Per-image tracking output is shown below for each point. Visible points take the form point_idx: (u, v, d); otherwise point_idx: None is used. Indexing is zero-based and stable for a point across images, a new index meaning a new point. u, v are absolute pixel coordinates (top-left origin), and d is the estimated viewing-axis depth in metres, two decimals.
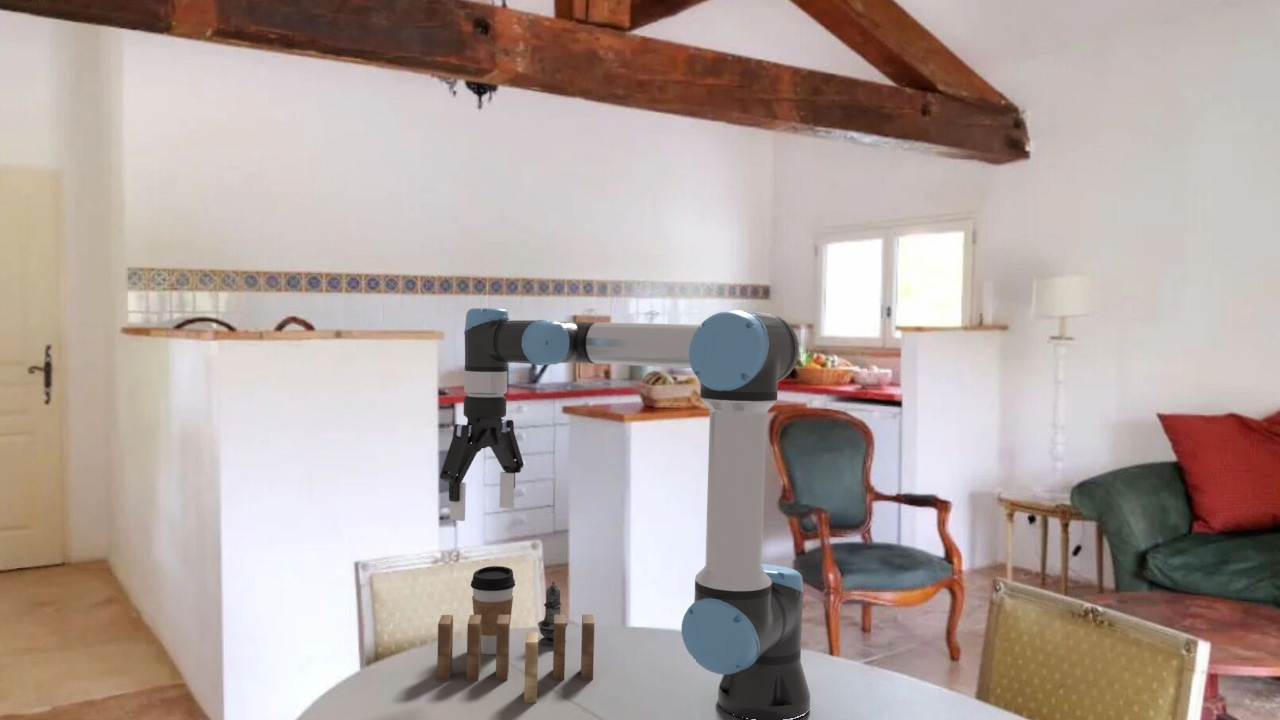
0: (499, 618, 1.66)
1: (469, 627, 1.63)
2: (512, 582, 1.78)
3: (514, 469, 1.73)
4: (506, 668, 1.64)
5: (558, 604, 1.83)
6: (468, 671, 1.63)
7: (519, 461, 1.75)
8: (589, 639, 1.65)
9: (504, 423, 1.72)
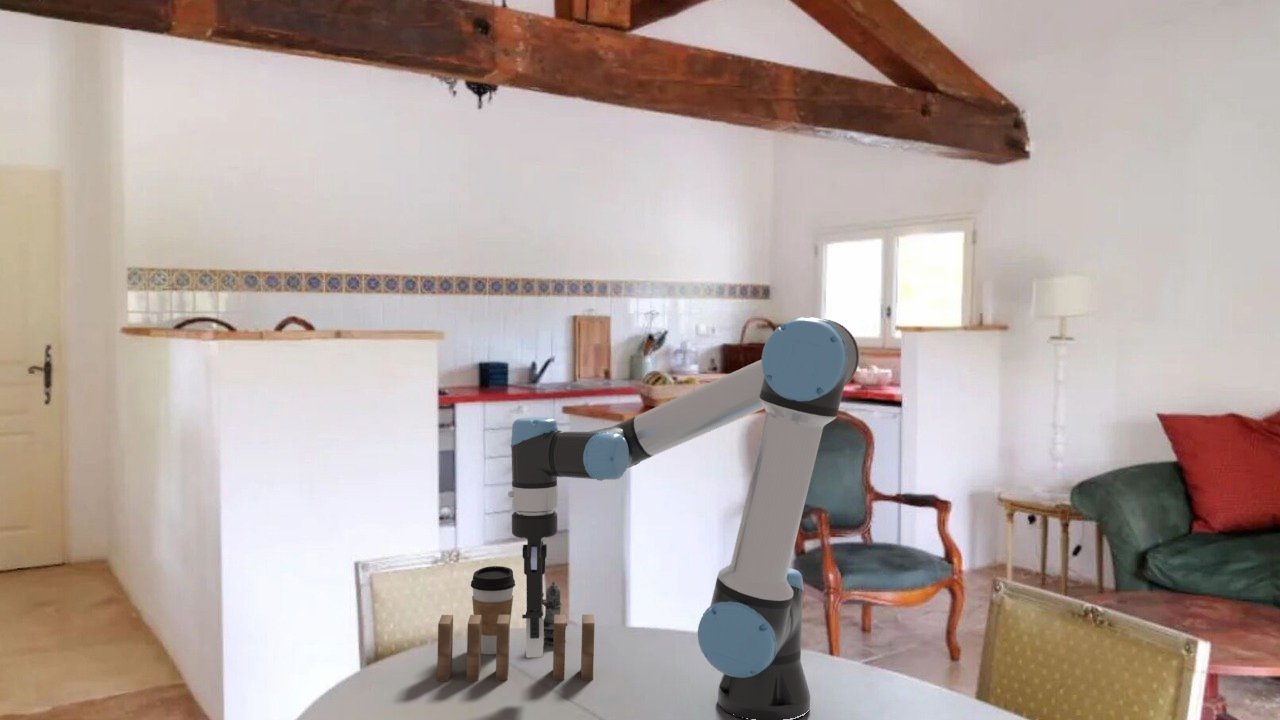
0: (499, 618, 1.66)
1: (469, 627, 1.63)
2: (512, 582, 1.78)
3: (542, 600, 1.60)
4: (506, 668, 1.64)
5: (558, 604, 1.83)
6: (468, 671, 1.63)
7: None
8: (589, 639, 1.65)
9: None
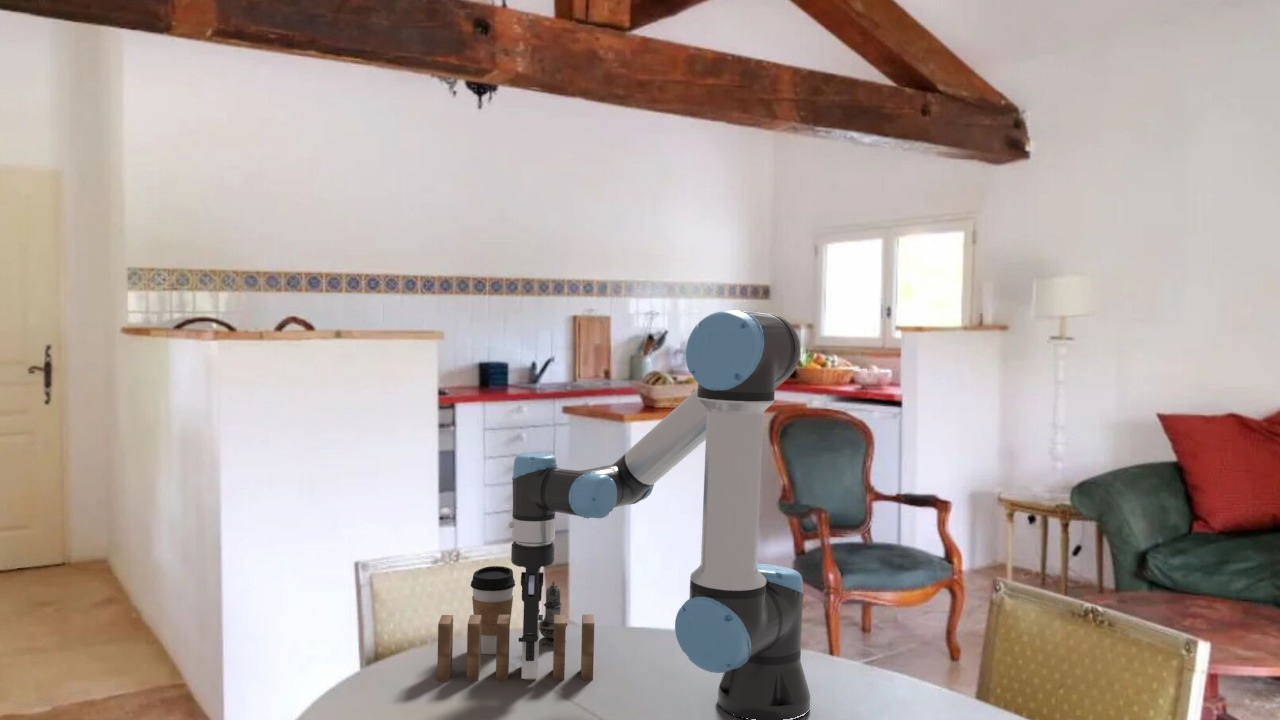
0: (499, 618, 1.66)
1: (469, 627, 1.63)
2: (512, 582, 1.78)
3: (538, 617, 1.72)
4: (506, 668, 1.64)
5: (558, 604, 1.83)
6: (468, 671, 1.63)
7: None
8: (589, 639, 1.65)
9: None
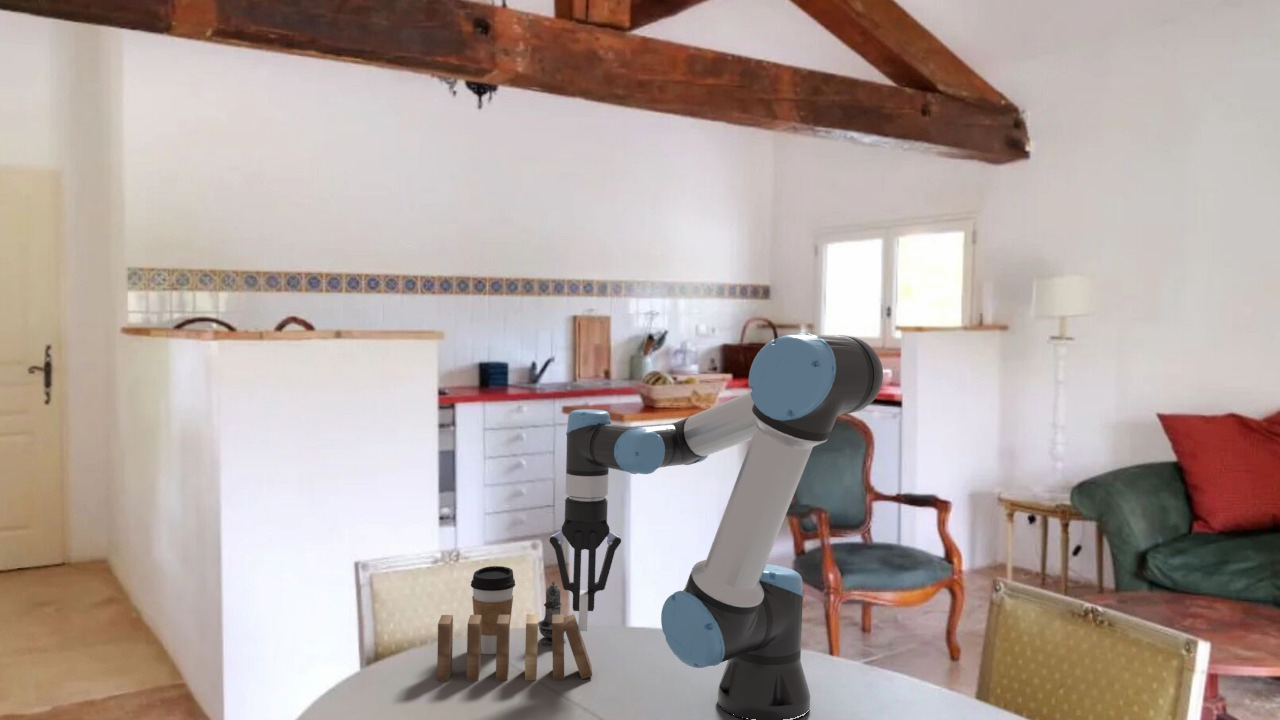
0: (499, 618, 1.66)
1: (469, 627, 1.63)
2: (512, 582, 1.78)
3: (589, 589, 1.66)
4: (506, 668, 1.64)
5: (558, 604, 1.83)
6: (468, 671, 1.63)
7: (601, 581, 1.66)
8: (575, 639, 1.65)
9: (612, 536, 1.67)
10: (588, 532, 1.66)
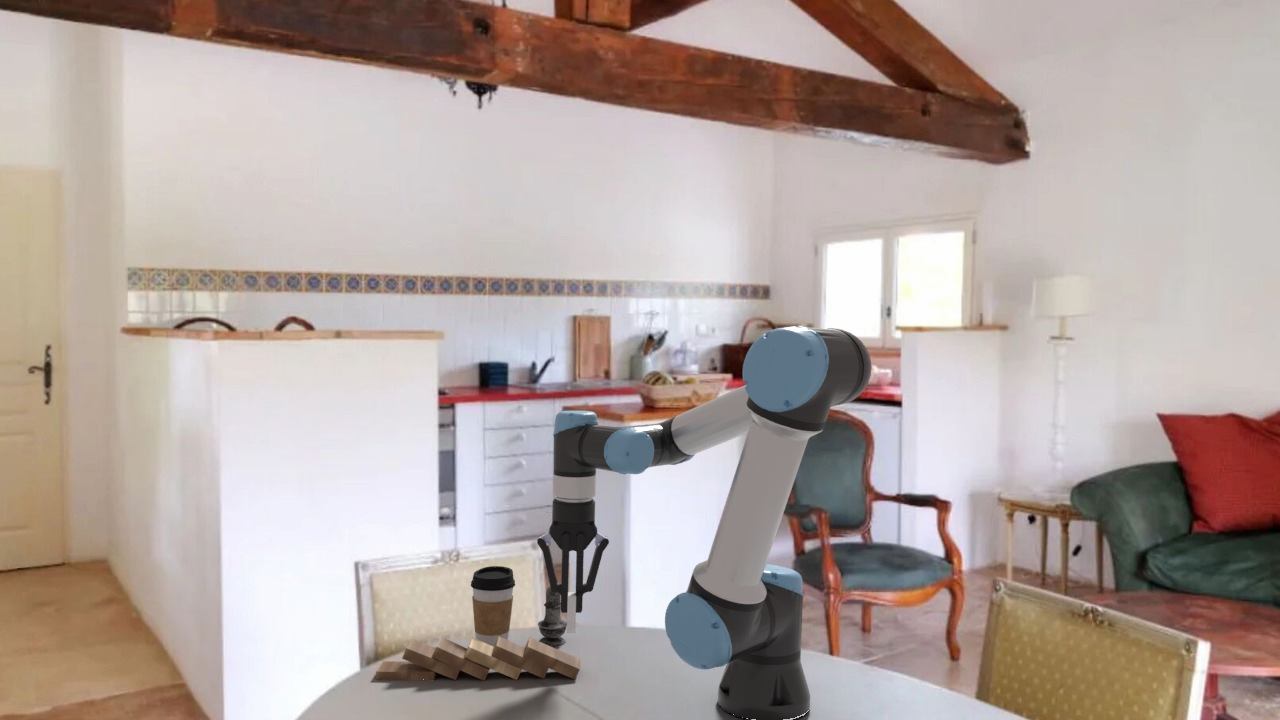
0: None
1: (406, 658, 1.63)
2: (512, 582, 1.78)
3: (577, 590, 1.66)
4: (477, 666, 1.63)
5: (558, 604, 1.83)
6: (447, 674, 1.63)
7: (589, 583, 1.66)
8: (540, 657, 1.64)
9: (600, 537, 1.66)
10: (576, 533, 1.65)
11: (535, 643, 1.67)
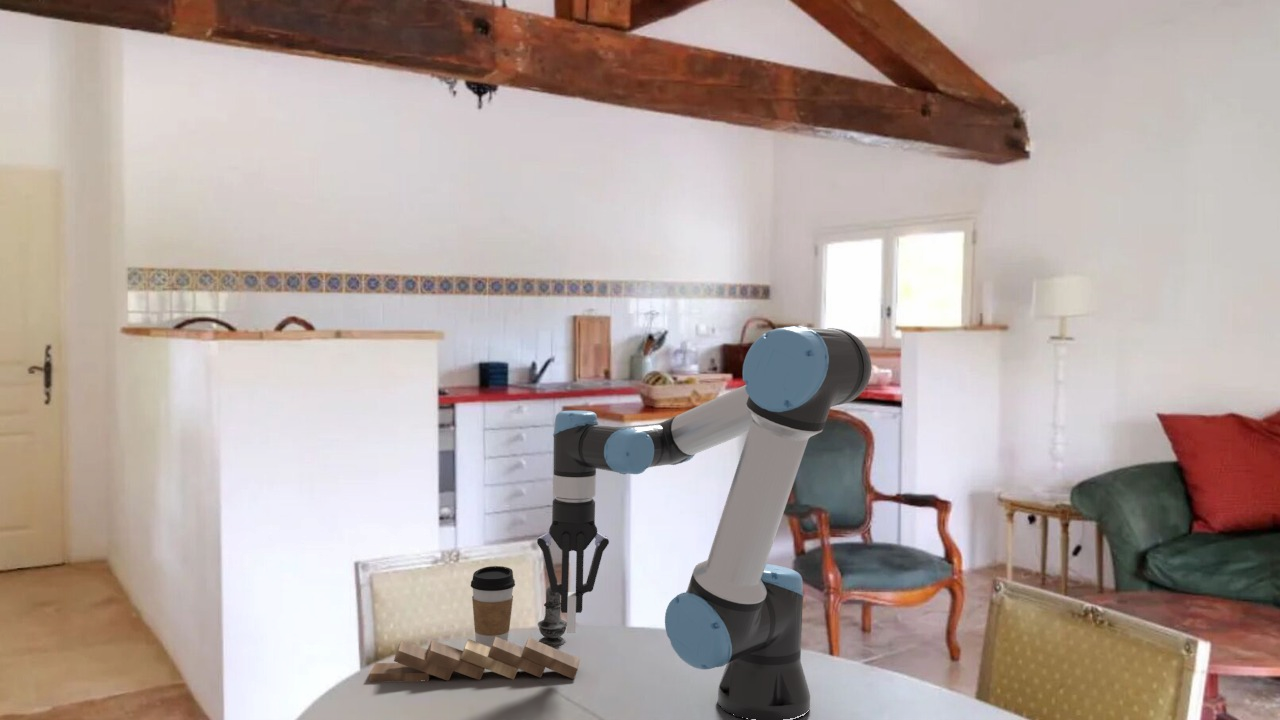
0: (427, 653, 1.64)
1: (398, 660, 1.61)
2: (512, 582, 1.78)
3: (577, 590, 1.66)
4: (473, 666, 1.63)
5: (558, 604, 1.83)
6: (440, 676, 1.62)
7: (589, 583, 1.66)
8: (538, 656, 1.65)
9: (600, 537, 1.66)
10: (576, 533, 1.65)
11: (534, 643, 1.68)
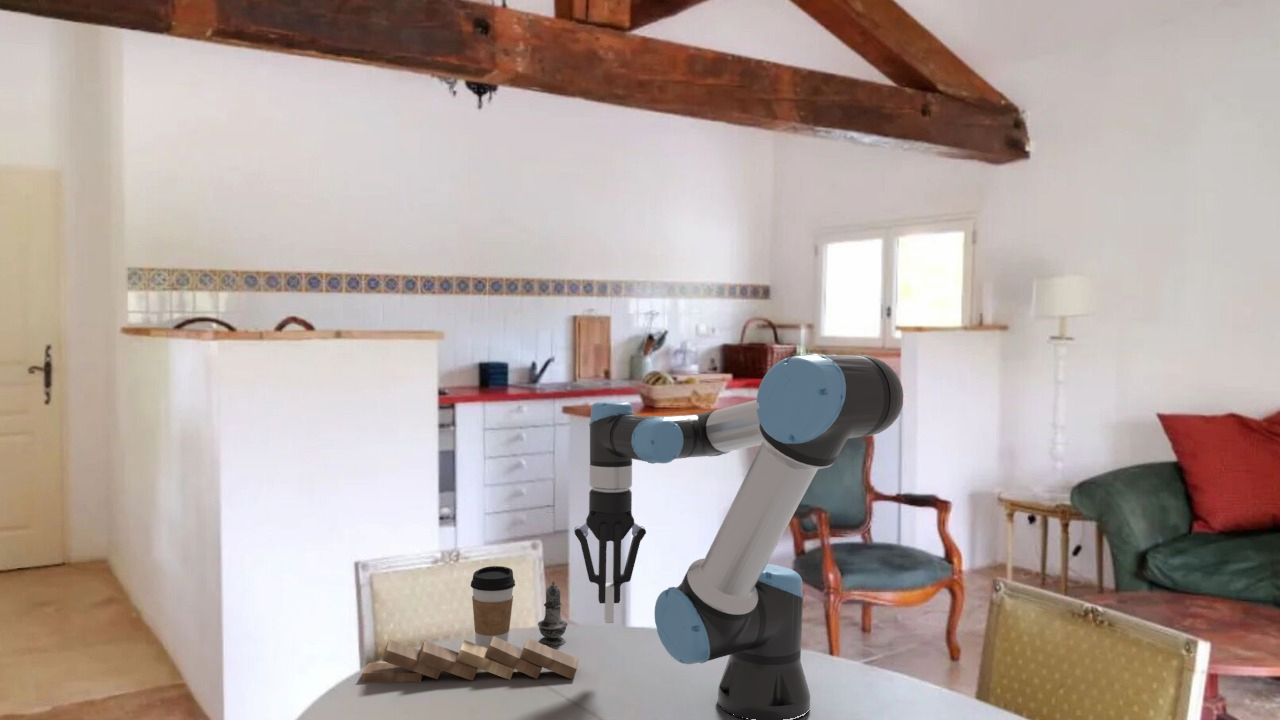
0: (419, 654, 1.64)
1: (386, 660, 1.60)
2: (512, 582, 1.78)
3: (615, 581, 1.66)
4: (465, 667, 1.63)
5: (558, 604, 1.83)
6: (429, 674, 1.62)
7: (627, 573, 1.66)
8: (537, 657, 1.65)
9: (637, 527, 1.67)
10: (613, 523, 1.66)
11: (533, 644, 1.68)
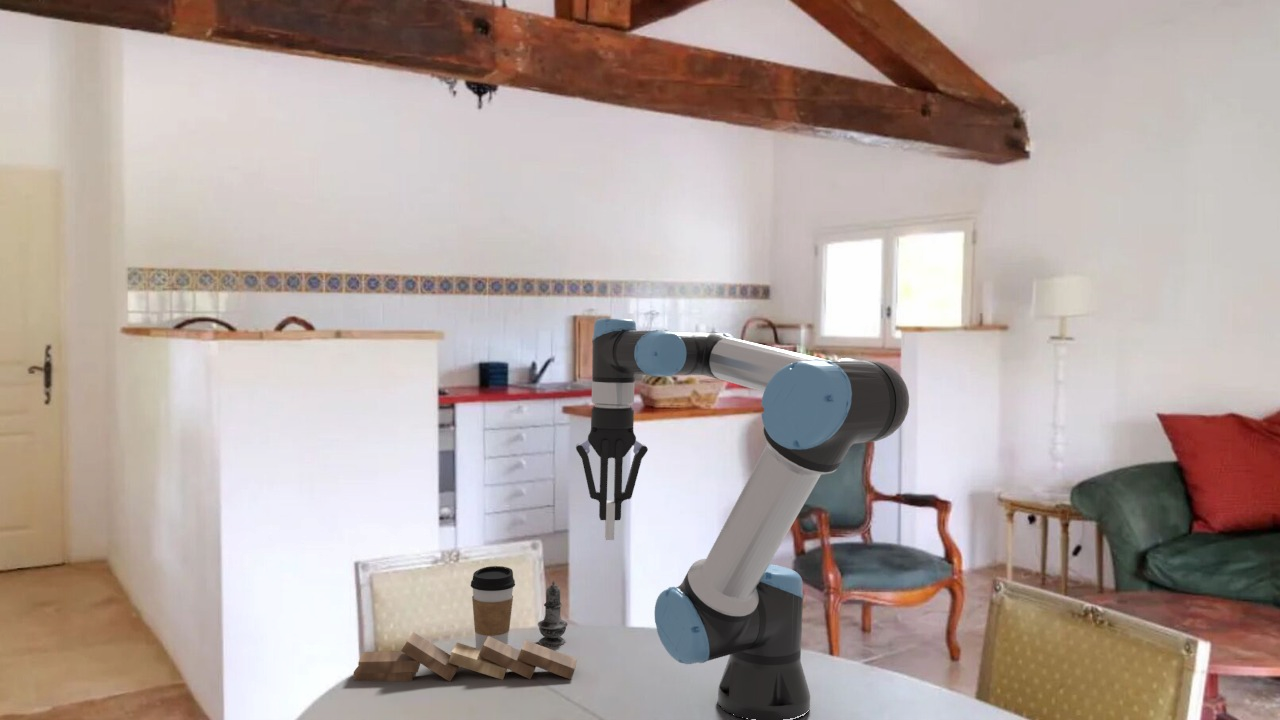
0: None
1: (362, 671, 1.61)
2: (512, 582, 1.78)
3: (616, 497, 1.66)
4: (445, 666, 1.62)
5: (558, 604, 1.83)
6: (408, 670, 1.62)
7: (628, 490, 1.66)
8: (535, 658, 1.65)
9: (639, 445, 1.67)
10: (615, 440, 1.65)
11: (530, 645, 1.68)
